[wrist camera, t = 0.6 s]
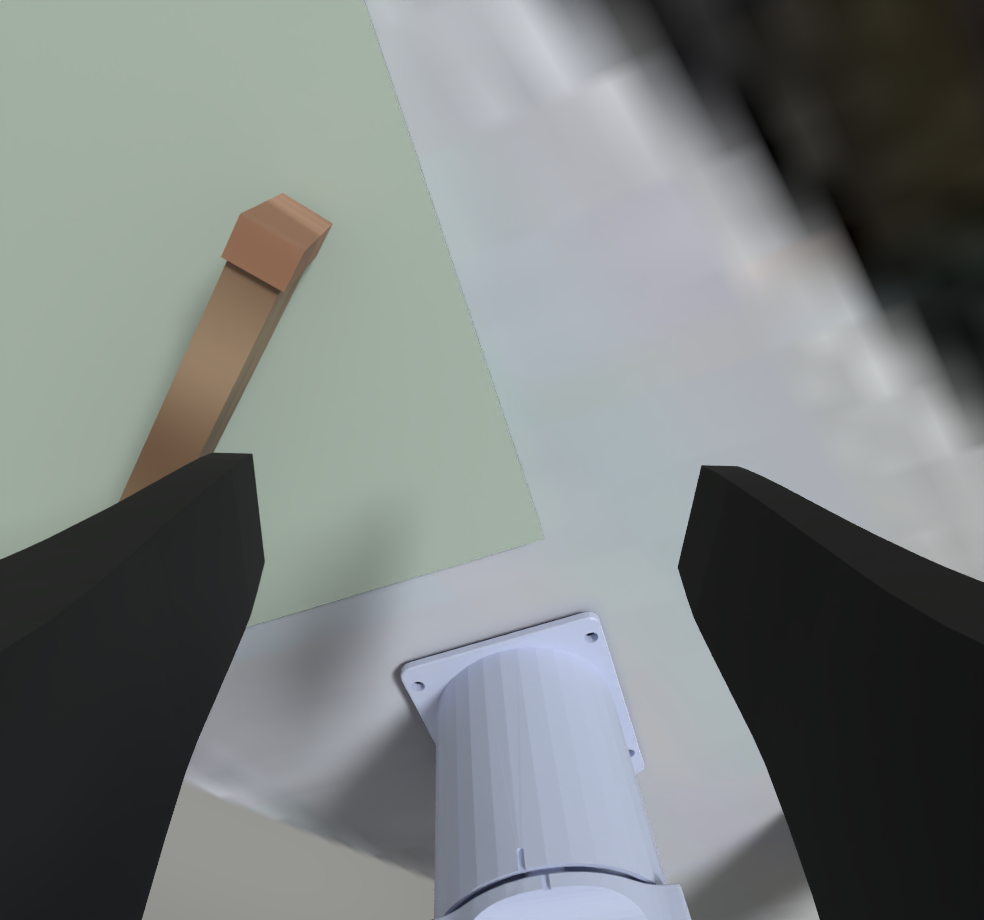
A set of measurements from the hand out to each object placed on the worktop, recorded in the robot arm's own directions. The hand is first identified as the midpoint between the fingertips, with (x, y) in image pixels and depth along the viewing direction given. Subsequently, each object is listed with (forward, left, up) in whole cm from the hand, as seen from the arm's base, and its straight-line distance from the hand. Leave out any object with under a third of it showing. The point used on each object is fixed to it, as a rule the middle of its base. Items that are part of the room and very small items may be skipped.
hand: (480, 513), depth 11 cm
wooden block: (0, +8, -9) cm, 12 cm away
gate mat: (+3, +9, -10) cm, 14 cm away
